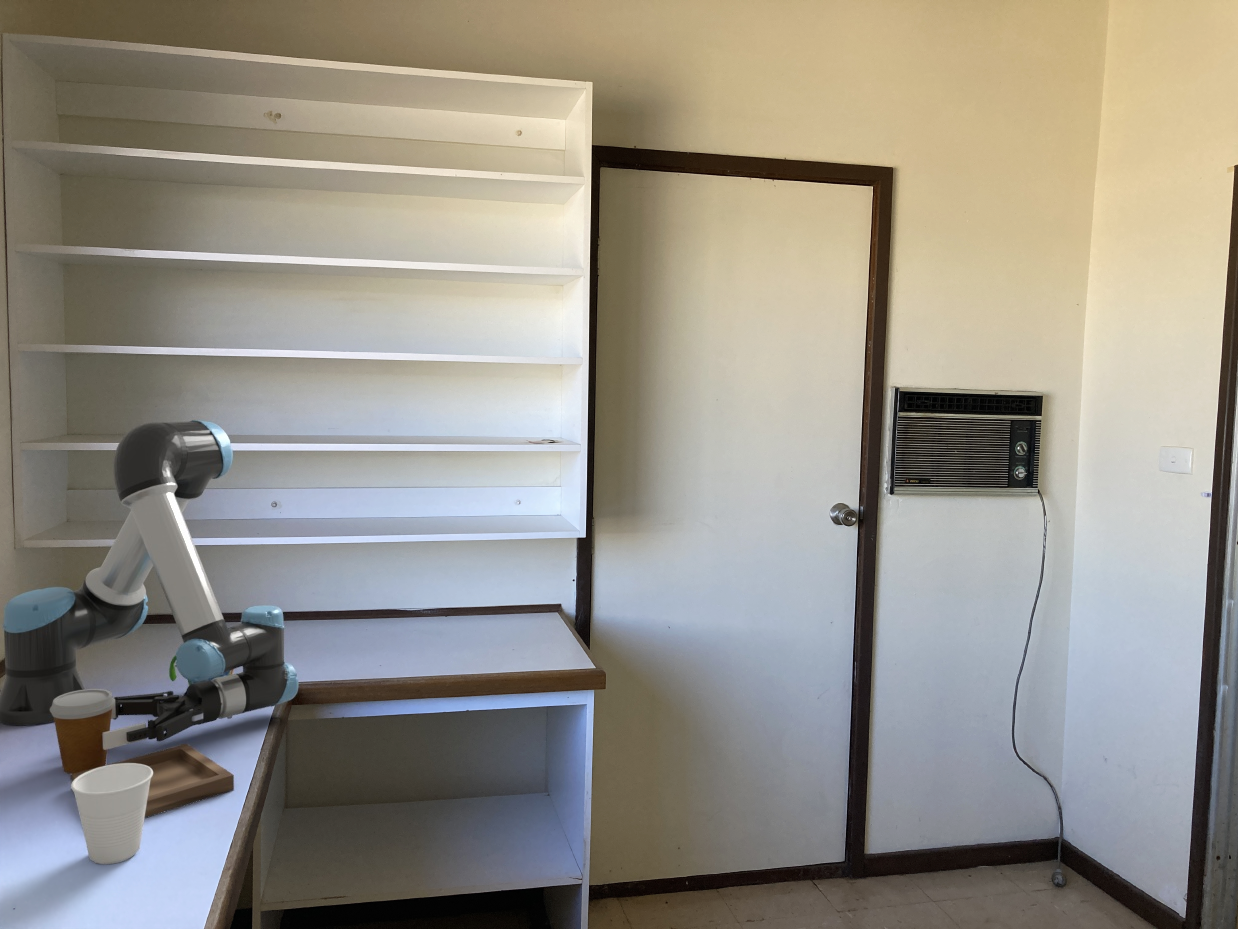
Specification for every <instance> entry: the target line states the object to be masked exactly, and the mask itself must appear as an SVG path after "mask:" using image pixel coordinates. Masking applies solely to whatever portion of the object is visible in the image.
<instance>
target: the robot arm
mask: <svg viewBox="0 0 1238 929" xmlns="http://www.w3.org/2000/svg"><path fill="white" fill-rule="evenodd" d="M231 443H232V442H231V440H230V438H229V436H228V434H227V432H226V431H225V430H224V429H223V428H222V427H221V426H219V425H218V424H216V423H214V422H212V421H206V420H203V421H202V420H198V419H197V420H196V419H193V420H189V421H166V422H158V421H156V422H152V421H151V422H145V423H142V424H139V425H137V426H135V427H133V428H131V429H130V430H129V431H128V432H127V433H126V434H125V435H124V436H123V437H122V438H121V440H120V441H119V443H118V444H117V448H116V449H115V452H114V457H113V462H112V472H113V473H112V474H113V481H114V486H115V491H116V494H117V496H118V498H119V501H120V503H121V505H122V506H124V507H127V509H128V508H129V509H130V512H129V513H128V515H127V517H126V519H125V521H124V523H123V524H122V527H121V528H120V530H119V532H118V535H117V536H116V537H115V540H114V542H113V544H112V545H111V548H110V549H109V551H108V553H107V555H106V557H105V559H104V561H103V562H102V564H101V566H100V567H97V568H94V569H92V570H91V571H89V572H88V573H87V574H86V577H85V578H84V580H83V582H82V584H81V586H80V587H79V588H78V589H76V590H72V589H71V588H68V587H66V586H65V587H63V586H54V587H53V586H51V587H45V588H43V589H39V588H38V589H34V590H29V591H27V592H23V593H21V594H18V595H16V596H14V597H12V598H11V599H10V600H8V602H7V603H6V604H5V606H4V609H3V621H2V628H3V635H4V636H3V638H4V639H3V640H4V665H5V666H4V667H5V679H4V682H3V685H2V688H1V691H0V723H1V724H3V725H4V724H5V725H10V726H29V725H30V726H31V725H41V724H47V723H52V722H53V723H54V717H53V715H52V713H51V712H50V708H51V706H52V703H53V700H54V699H55V698H56V697H58V696H60V695H63V694H66V693H69V692H73V691H79V690H86V689H85V686H84V683H83V681H82V678H81V677H80V674H79V673H78V670H77V653H76V651H78V650H80V649H84V648H87V647H91V646H95V645H98V644H102V643H104V642H105V643H106V642H108V641H109V642H110V641H112V640H117V639H121V638H123V637H126V636H127V635H129V634H131V633H133V632H135V631H137V630H138V629H139V628H140V627H141V626H142V624H143V623H144V622H145V620H146V618H147V616H148V611H149V606H148V605H147V603H148V601H149V600H148V596H147V589H146V587H145V585H144V583H145V581H146V579H147V577H148V576H149V574H150V571H152V568H153V569H154V572H155V573H156V576H157V578H158V581H159V584H160V585H161V589H162V591H163V594H164V596H165V598H166V602H167V603H168V606H169V608H170V610H171V613H172V616H173V618H174V621H175V623H176V625H177V628H178V630H179V634H180V636H181V639H182V642H183V643H182V644H180V646H178V648H177V651H176V653H175V655H176V658H177V660H176V661H175V666H176V668H177V671H178V673H180V675H181V676H182V677H183V678H184V679H185V680H187V681H188V680H189V681H193V682H198V683H193V684H191V685H189V684H188V686H187V688H186V690H185V693H183V695H179V694H174V691H173V690H167V691H163V692H156V693H146V694H145V693H143V694H135V695H125V696H123V695H122V696H113V698H114V699H115V704H114V706H113V708H112V715H111V720H114V721H115V720H117V719H118V718H119V716H152V717H154V719H147V723H146V722H140V723H136V724H132V725H127V726H123V727H120V728H115V729H112V730H111V729H110V731H107V732H103V749H104V750H106V749H108V750H109V749H114V748H117V747H121V746H124V745H129V744H132V743H133V744H134V743H136V742H140V741H145V740H154V739H155V740H156V742H163V741H166V740H168V739H169V738H172V737H173V736H175V735H177V734H180V733H181V732H183V731H185V730H188V729H189V728H191V727H193V726H197V725H204V724H207V723H211V722H216V720H219V719H221V720H222V719H226V718H227V719H228V720H229V719H233V716H236V715H240V714H245V713H248V712H249V713H250V712H252V711H256V710H261V709H265V708H269V707H276V706H277V705H280V704H285V703H286V702H289V701H291V700H293V699H294V698H295V697H296V695H297V694H298V691H299V683H300V682H299V678H298V676H297V675H298V673H297V670H296V668H295V667H294V666H293V665H292V664H291V663H290V662H285V629H286V628H285V624H284V621H285V620H284V614H283V613H284V612H283V610H282V609H281V608H280V607H279V606H276V605H267V604H266V605H265V604H264V605H255V606H251V607H246V608H245V609H244V610H243V611H242V612H241V619H240V624H237V625H233V626H230V627H228V625H227V622H226V620H225V619H224V616H223V614H222V613H223V612H222V611H221V609H220V607H219V606H220V605H219V603H218V601H217V598H216V596H215V593H214V591H213V588H212V586H211V584H210V581H209V578H208V576H207V573H206V570H205V568H204V566H203V563H202V560H201V558H200V555H199V553H198V550H197V548H196V545H195V543H194V541H193V538H192V536H191V533H190V530H189V528H188V525H187V523H186V520H185V517H184V515H183V513H184V511H185V509H186V508H187V505H188V503H189V502H190V501H193V500H196V499H199V498H200V497H202V494H203V493H204V491H205V489H206V488H207V486H208V484H209V482H210V481H211V480H212V479H213V480H215V479H219V478H221V477H224V476H225V475H226V474H227V473H228V472H229V471H230V469H231V467H232V463H233V458H234V454H233V453H234V452H233V448H232V445H231ZM240 667H242V671H241V672H239V673H233V674H232V675H227V676H223V677H218V676H220V675H221V674H223V673H226V672H228V671H230V670H233V671H234V670H235V669H237V668H240ZM213 677H214V679H212V680H211V681H210V680H207V679H210V678H213ZM216 677H218V678H216ZM203 680H206V681H203ZM199 681H202V682H199Z"/></svg>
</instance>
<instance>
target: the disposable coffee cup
mask: <svg viewBox="0 0 1238 929" xmlns="http://www.w3.org/2000/svg"><path fill="white" fill-rule="evenodd" d="M114 704H115V699H114V696H113V693H112V691H110V690H108V689H103V688H102V689H101V688H87V689H85V690H79V691H73V692H69V693H66V694H63V695H60V696H58V697H56V698H55V699H54V700H53V703H52V706H51V708H50V712H51V713H52V715H53V717H54V721H53V723H54V727H55V732H56V738H57V744H58V749H59V754H60V760H61V764H62V770H63V772H64V773H67V774H70V775H71V774H74V773H78V772H82V771H85V770H89V769H93V768H97V767H100V766H104V765H107V759H108V758H107V756H108V750H109V749H106V750H104V749H103V732H107V731H111V722H112V719H111V715H112V708H113V706H114Z"/></svg>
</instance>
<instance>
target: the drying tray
mask: <svg viewBox="0 0 1238 929" xmlns="http://www.w3.org/2000/svg"><path fill="white" fill-rule="evenodd" d="M121 763H137V764H143V765H146V766H149V767H150V768H151V769H152V770H153V776H152V777H151V779H150V786H149V792H148V798H147V804H146V810H145V817H147V818H149V817H148V816H150V817H152V815H153V816H155V815H154V814H156V815H159V814H161V812H162V813H165V812H164V811H166V812H168V811H167V810H169V811H171V810H175V809H179V808H181V807H184V805H185V806H187V804H188V805H191V804H193V802H194V803H197V802H200V801H203V800H202V799H204V800H206V798H207V799H209V798H212V797H215V796H218V795H219V796H220V795H222V794H225V793H229V792H231V791H234V790H235V780H234V779H235V778H234V777H235V775H234V774H233V773H232V772H230V771H228V770H227V769H226V768H224V767H223V766H221V765H219V764H218V763H217V762H215V761H213V760H212V759H210V758H209V757H207V756H205V755H204V754H203V753H202V752H200V751H198V750H196V749H195V748H194V747H192V746H191V745H189V744H188V743H182V744H179V745H175V746H171V747H168V748H164V749H161V750H158V751H157V750H156V751H153V752H150V753H145V754H141V755H138V756H134V757H131V758H127V759H124V760H120V761H116V762H112V763H108V764H105V765H104V766H107V765H113V764H121ZM100 767H103V766H100ZM97 768H99V767H97ZM93 769H96V768H93ZM93 769H89V770H85V771H82V772H78V773H74V774H70V781H71V782H70V785H71V784H72V782H73V781H74V779H75V778H77V777H78V776H80V775H81V774H83V773H85V772H88V771H90V770H93ZM70 789H71V788H70ZM71 791H72V792H73V793H74V791H73V790H72V789H71ZM199 800H200V801H199ZM196 801H197V802H196ZM190 803H191V804H190ZM158 813H159V814H158ZM145 817H144V819H146V818H145Z"/></svg>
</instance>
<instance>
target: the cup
mask: <svg viewBox="0 0 1238 929" xmlns="http://www.w3.org/2000/svg"><path fill="white" fill-rule="evenodd" d="M106 765H107V766H103V767H99V768H96V769H93V770H90V771H88V772H85V773H83V774H81V775H80V776H78V777H77V778H75V779H74V781H73V782H72V784H71V783H70V789H72V790H73V791H74V792H73V791H72V790H71V791H72V792H73V793H74V797H75V801H76V802H75V803H76V806H77V807H76V808H77V811H78V814H79V818H80V823H81V826H82V832H83V835H84V840H85V844H86V848H87V853H88V857H89V859H90V860H91V861H92V862H93V863H95V864H99V865H113V864H117V863H121V862H124V861H126V860H128V859H131V858H132V857H133V856H134V855H136V853H137V852H139V850H140V847H141V842H142V835H143V831H144V830H143V828H144V823H145V822H144V821H145V818H144V817H145V810H146V804H147V798H148V792H149V786H150V779H151V777H152V776H153V770H152V769H151V768H150V767H149V766H146V765H143V764H137V763H121V764H113V765H108V764H106Z"/></svg>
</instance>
